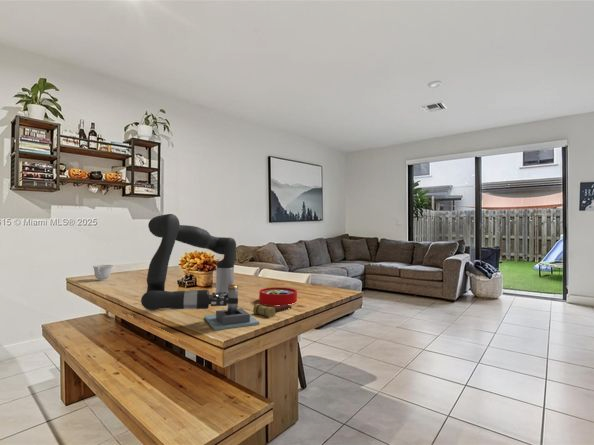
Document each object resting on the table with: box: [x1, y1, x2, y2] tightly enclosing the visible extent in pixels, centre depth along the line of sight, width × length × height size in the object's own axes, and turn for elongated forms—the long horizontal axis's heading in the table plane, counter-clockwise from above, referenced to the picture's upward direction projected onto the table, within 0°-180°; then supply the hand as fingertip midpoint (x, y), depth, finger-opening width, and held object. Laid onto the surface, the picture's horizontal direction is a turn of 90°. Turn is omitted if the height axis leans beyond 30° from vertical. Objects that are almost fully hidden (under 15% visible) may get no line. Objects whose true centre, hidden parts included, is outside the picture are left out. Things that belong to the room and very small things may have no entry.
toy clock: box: [258, 286, 298, 306], centre depth 171 cm, size 20×6×20 cm
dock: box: [204, 307, 260, 331], centre depth 134 cm, size 18×18×4 cm
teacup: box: [92, 264, 113, 282], centre depth 223 cm, size 12×15×10 cm
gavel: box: [252, 303, 293, 319], centre depth 151 cm, size 21×5×10 cm
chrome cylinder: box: [227, 284, 239, 315], centre depth 132 cm, size 4×4×14 cm
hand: (237, 298), depth 133 cm, fingers open, 8 cm apart
